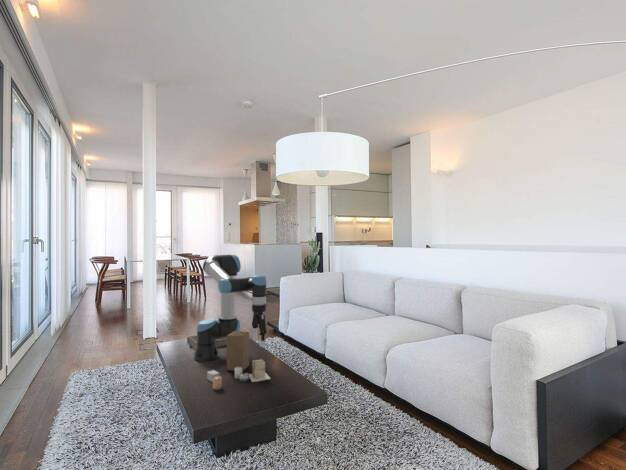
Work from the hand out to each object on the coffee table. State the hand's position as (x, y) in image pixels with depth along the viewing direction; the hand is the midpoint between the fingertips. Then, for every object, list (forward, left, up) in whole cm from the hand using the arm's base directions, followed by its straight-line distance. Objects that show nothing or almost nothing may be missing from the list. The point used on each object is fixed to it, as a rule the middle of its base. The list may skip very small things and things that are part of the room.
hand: (258, 343), depth 196 cm
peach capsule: (+5, -23, -18) cm, 30 cm away
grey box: (-7, -23, -19) cm, 30 cm away
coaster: (0, 0, -18) cm, 18 cm away
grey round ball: (0, -8, -19) cm, 20 cm away
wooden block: (-19, -7, -19) cm, 28 cm away
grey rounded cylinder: (-5, -10, -19) cm, 22 cm away
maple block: (0, 0, -18) cm, 18 cm away
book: (-77, -12, -19) cm, 80 cm away
